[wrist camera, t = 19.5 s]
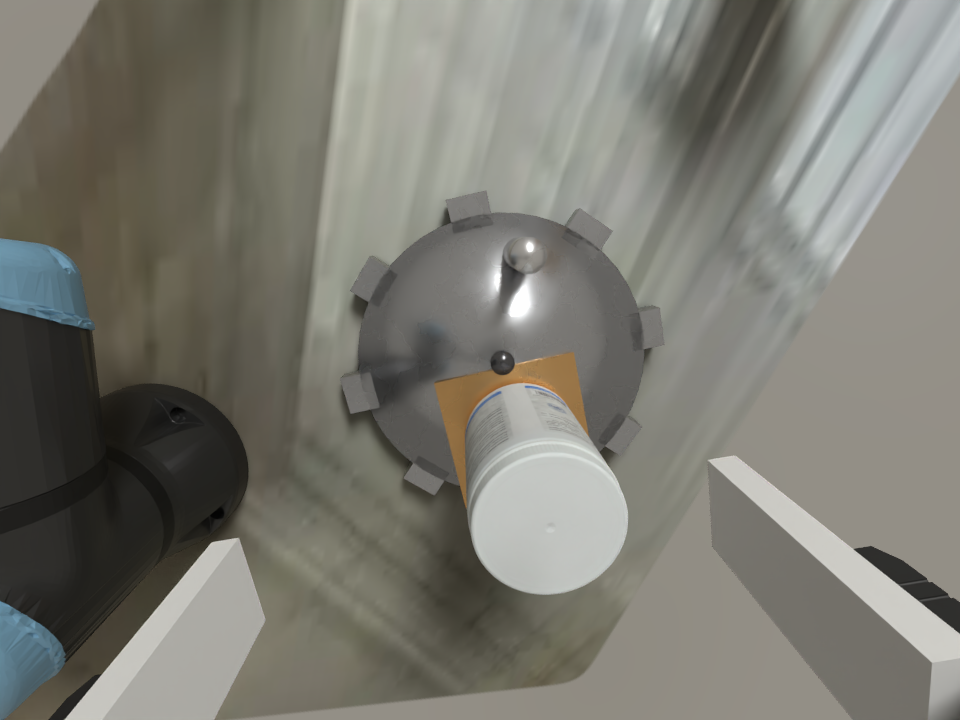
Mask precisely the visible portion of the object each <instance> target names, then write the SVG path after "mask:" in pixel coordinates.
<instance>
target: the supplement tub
mask: <svg viewBox="0 0 960 720" xmlns="http://www.w3.org/2000/svg"><path fill="white" fill-rule="evenodd" d="M465 466H466V498H467V517H468V525H469V530H470V534H471V538H472V543H473V546H474V549H475V552H476V554H477V556H478V558H479V560H480V561H481V563H482V564H483V566H484V567H485V568H486V569H487V571H488V572H489V573H490V574H491V575H493V576H494V577H495V578H496V579H498V580H499V581H500V582H502V583H503V584H505V585H507V586H509V587H511V588H513V589H516V590H519V591H521V592H526V593H530V594H539V595H552V594H560V593H564V592H569V591H572V590H575V589H577V588H580V587H582V586H584V585H586V584H588V583H590V582H591V581H593V580H594V579H596V578H597V577H599V576H600V575H601V574H602V573H603V572H604V571H605V570H606V569H608V567H609V566H610V565H611V564H612V563H613V562H614V560H615V559H616V557H617V556H618V554H619V552H620V550H621V548H622V546H623V544H624V541H625V538H626V533H627V528H628V511H627V505H626V502H625V499H624V496H623V493H622V491H621V489H620V486H619V484H618V481H617V479H616V477H615V476H614V474H613V472H612V471H611V469H610V468H609V466H608V465H607V463H606V462H605V460H604V459H603V457H602V456H601V454H600V453H599V451H598V450H597V448H596V447H595V445H594V444H593V442H592V441H591V439H590V438H589V437H588V435H587V434H586V432H585V431H584V429H583V428H582V426H581V425H580V423H579V422H578V420H577V419H576V418H575V416H574V415H573V413H572V412H571V410H570V409H569V407H568V406H567V405H566V403H565V402H564V401H563V400H562V399H561V398H560V397H559V396H558V395H557V394H555V393H554V392H552V391H551V390H549V389H547V388H545V387H542V386H539V385H535V384H529V383H516V384H510V385H506V386H503V387H501V388H498V389H496V390H495V391H493V392H491V393H490V394H488V395H487V396H486V397H485V398H483V399H482V400H481V401H480V402H479V403H478V404H477V406H476V407H475V408H474V410H473V411H472V413H471V415H470V417H469V420H468V423H467V426H466V431H465Z"/></svg>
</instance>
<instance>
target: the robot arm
mask: <svg viewBox="0 0 960 720" xmlns="http://www.w3.org/2000/svg"><path fill="white" fill-rule="evenodd" d="M92 330H95V325H94V322H93V321H92V320H90V319H89V314H88V310H87V305H86V300H85V294H84V289H83V284H82V278H81V274H80V271H79V269H78V267H77V266H76V265H75V263H74V262H73V261H72V260H71V259H70V258H69V257H68V256H67V255H65V254H64V253H62V252H61V251H59V250H58V249H55V248H53V247H50V246H48V245H44V244H39V243H32V242H24V241H16V240H8V239H0V720H4V719H5V718H6V717H7V716H9V715H10V714H11V713H12V712H13V711H14V710H15V709H16V708H17V707H18V706H20V705H21V704H22V703H23V702H24V701H25V700H26V699H27V698H28V697H29V696H30V695H31V694H32V693H33V692H34V691H35V690H36V689H37V688H38V687H39V686H40V685H42V684H43V683H44V682H47V681H48V680H49V679H51V678H52V677H54V676H56V675H57V674H58V672H59V671H60V670H61V669H62V668H63V666H64V664H65V663H66V662H67V661H68V660H69V658H70V657H71V656H72V655H73V654H74V653H75V652H76V651H77V650H78V649H79V648H80V647H81V645H82V644H83V643H84V642H85V641H86V640H87V639H88V638H89V637H90V636H91V635H92V634H93V633H94V631H95V630H96V629H97V628H98V627H99V626H100V625H101V624H102V623H103V622H104V621H105V620H106V618H107V617H108V616H109V615H110V614H111V613H112V612H113V611H114V610H115V609H116V608H117V607H118V605H119V604H120V603H121V602H122V601H123V600H124V599H125V598H126V597H127V596H128V595H129V594H130V593H131V591H132V590H133V589H134V588H135V587H136V586H137V585H138V584H139V583H140V582H141V581H142V580H143V578H144V577H145V576H146V575H147V574H148V573H149V572H150V571H151V570H152V569H153V568H154V567H155V565H156V564H157V563H158V562H159V561H161V560H163V559H165V558H167V557H169V556H171V555H173V554H175V553H177V552H179V551H181V550H183V549H185V548H187V547H189V546H191V545H193V544H195V543H197V542H199V541H201V540H203V539H205V538H206V537H208V536H209V535H211V534H212V533H213V532H215V531H216V530H217V529H218V528H219V527H220V526H221V525H222V524H223V523H224V522H225V521H226V520H227V518H228V517H229V516H230V515H231V514H232V513H233V511H234V510H235V509H236V507H237V506H238V505H239V503H240V501H241V499H242V497H243V495H244V492H245V489H246V485H247V479H248V462H247V456H246V452H245V449H244V446H243V443H242V441H241V439H240V437H239V435H238V433H237V431H236V430H235V428H234V427H233V425H232V424H231V423H230V421H229V420H228V419H227V418H226V417H225V416H224V415H223V414H222V413H221V412H220V411H219V410H218V409H217V408H216V407H214V406H213V405H212V404H211V403H209V402H208V401H206V400H205V399H203V398H201V397H199V396H198V395H196V394H194V393H191V392H189V391H186V390H184V389H181V388H178V387H174V386H169V385H162V384H139V385H133V386H129V387H125V388H122V389H120V390H117V391H115V392H113V393H110V394H108V395H106V396H104V397H101V398H100V396H99V387H98V378H97V370H96V361H95V352H94V343H93V335H92ZM708 478H709V495H710V513H711V533H712V547H713V548H714V549H715V550H716V552H717V553H718V554H719V556H720V557H721V558H722V559H723V560H724V562H725V563H726V564H727V565H728V567H729V568H730V569H731V570H732V572H733V573H734V574H735V575H736V576H737V578H738V579H739V580H740V581H741V583H742V584H743V585H744V586H745V588H746V589H747V590H748V591H749V592H750V594H751V595H752V596H753V597H754V599H755V600H756V601H757V602H758V604H759V605H760V606H761V607H762V609H763V610H764V611H765V612H766V613H767V615H768V616H769V617H770V618H771V620H772V621H773V622H774V623H775V625H776V626H777V627H778V628H779V629H780V631H781V632H782V633H783V634H784V636H785V637H786V638H787V639H788V641H789V642H790V643H791V644H792V645H793V647H794V648H795V649H796V650H797V652H798V653H799V654H800V655H801V656H802V658H803V659H804V660H805V661H806V663H807V664H808V665H809V666H810V668H811V669H812V670H813V671H814V672H815V674H816V675H817V676H818V678H819V679H820V680H821V681H822V682H823V684H824V685H825V686H826V687H827V689H828V690H829V691H830V692H831V694H832V695H833V696H834V697H835V698H836V700H837V701H838V702H839V703H840V705H841V706H842V707H843V708H844V709H845V711H846V712H847V713H848V715H849V716H850V717H851V718H852V719H853V720H960V602H959V601H957V600H956V599H954V598H950V597H949V596H948V593H946V592H945V591H943V590H942V589H941V588H939V587H938V586H937V585H935V584H934V583H933V582H928V580H927V578H926V577H924V576H923V575H922V574H920V573H918V572H917V571H916V570H915V569H913V568H912V567H911V566H909V565H908V564H906V563H905V562H904V561H902V560H900V559H898V558H896V557H894V556H892V555H889V554H887V553H885V552H883V551H881V550H878V549H876V548H874V547H872V546H869V547H863V548H857V549H852V548H851V547H850V546H848V545H847V544H846V543H845V542H843V541H842V540H841V539H840V538H838V537H837V536H836V535H835V534H833V533H832V532H831V531H829V530H828V529H827V528H826V527H824V526H823V525H822V524H820V523H819V522H818V521H817V520H816V519H814V518H813V517H812V516H811V515H809V514H808V513H807V512H805V511H804V510H803V509H802V508H801V507H799V506H798V505H797V504H795V503H794V502H793V501H792V500H791V499H789V498H788V497H787V496H785V495H784V494H783V493H782V492H780V491H779V490H778V489H777V488H775V487H774V486H773V485H772V484H770V483H769V482H768V481H767V480H765V479H764V478H763V477H762V476H760V475H759V474H758V473H757V472H755V471H754V470H753V469H751V468H750V467H749V466H748V465H746V464H745V463H744V462H743V461H741V460H740V459H739V458H738V457H736V456H729V457H723V458H717V459H711V460H708ZM264 622H265V617H264V614H263V611H262V608H261V604H260V601H259V598H258V595H257V592H256V589H255V586H254V583H253V580H252V577H251V574H250V570H249V567H248V564H247V561H246V558H245V555H244V552H243V549H242V546H241V543H240V540H239V538H235V539H228V540H222V541H216V542H212V543H211V544H210V545H209V546H208V547H207V549H206V550H205V551H204V552H203V553H202V555H201V556H200V557H199V558H198V559H197V561H196V562H195V563H194V564H193V565H192V567H191V568H190V569H189V570H188V571H187V573H186V574H185V575H184V576H183V578H182V579H181V580H180V581H179V582H178V584H177V585H176V586H175V587H174V588H173V590H172V591H171V592H170V593H169V594H168V596H167V597H166V598H165V599H164V600H163V602H162V603H161V604H160V605H159V606H158V608H157V609H156V610H155V611H154V612H153V614H152V615H151V616H150V617H149V619H148V620H147V621H146V622H145V623H144V625H143V626H142V627H141V628H140V629H139V631H138V632H137V633H136V634H135V635H134V637H133V638H132V639H131V640H130V641H129V643H128V644H127V645H126V646H125V647H124V649H123V650H122V651H121V652H120V653H119V655H118V656H117V657H116V658H115V660H114V661H113V662H112V663H111V664H110V666H109V667H108V668H107V669H106V670H105V672H104V673H103V674H100V675H95V676H94V677H92V678H91V679H90V680H89V681H88V682H86V683H85V684H84V685H83V686H82V687H80V688H79V689H78V690H77V691H76V692H74V693H73V694H72V695H71V696H69V697H68V698H67V699H66V700H65V701H64V703H63V704H62V705H61V706H60V707H59V708H58V709H57V711H56V712H55V713H54V714H53V715H52V716H51V718H50V719H49V720H214V719H215V717H216V715H217V713H218V711H219V709H220V707H221V705H222V703H223V701H224V699H225V697H226V696H227V694H228V692H229V690H230V688H231V686H232V684H233V682H234V680H235V678H236V676H237V674H238V672H239V670H240V669H241V667H242V665H243V663H244V661H245V659H246V657H247V655H248V653H249V651H250V649H251V647H252V645H253V643H254V642H255V640H256V638H257V636H258V634H259V632H260V630H261V628H262V626H263V624H264Z"/></svg>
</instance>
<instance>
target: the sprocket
mask: <svg viewBox="0 0 960 720" xmlns="http://www.w3.org/2000/svg"><path fill="white" fill-rule="evenodd" d="M446 203H447V207H448V212H449V216H450V220H451V223H449V224H447V225H444V226H442V227H439V228H437V229H436V230H434V231H432V232H430V233H429V234H427V235H425V236H423V237H422V238H420V239H419V240H418V241H417V242H415V243H414V244H413V245H411V246H410V247H409V248H407V249H406V250H405V251H404V252H403V253H402V254H401V255H400V256H399V257H398V258H397V259H396V260H395V261H394V262H393V263H392V265H391V266H389V265H387V264H386V263H384V262H382V261H381V260H379V259H378V258H376V257H374V256H370V257H369V258H368V260H367V262H366V264H365V265H364V267H363V269H362V271H361V272H360V274H359V276H358V278H357V279H356V281H355V283H354V285H353V286H352V288H351V290H350V291H351V292H353V293H354V294H356V295H358V296H359V297H361V298H362V299H364V300H366V301H367V302H369V303H368V306H367V308H366V311H365V313H364V317H363V322H362V326H361V330H360V337H359V348H358V358H359V371H355V372H350V373H346V374H344V375H343V376H342V377H341V378H340V381H341V384H342V387H343V391H344V394H345V397H346V400H347V404H348V407H349V410H350V414H352V413H357V412H361V411H366V410H371V412H372V414H373V416H374V419H375V420H376V422H377V424H378V425H379V427H380V428H381V430H382V431H383V433H384V434H385V436H386V437H387V438H388V439H389V440H390V442H391V443H392V444H393V445H394V446H395V448H396V449H397V450H399V451H400V452H401V453H402V454H403V455H404V456H405V457H406V458H407V459H408V460H410V461H411V463H410V464H409V466H408V467H407V469H406V471H405V475H404V479H405V480H407V481H409V482H411V483H413V484H414V485H416V486H418V487H420V488H422V489H423V490H425V491H427V492H429V493H431V494H432V495H435V494H436V492H437V491H438V490H439V488H440V487H441V485H442V484H443V482H444V481H447V482H449V483H452V484H455V485H458V486H460V487H461V491H462V495H463V499H464V503H465V507H466V508H467V498H466V466H465V431H466V426H467V423H468V420H469V417H470V415H471V413H472V411H473V410H474V408H475V407H476V406H477V404H478V403H479V402H480V401H481V400H482V399H483V398H485V397H486V396H487V395H488V394H490V393H491V392H493V391H495V390H496V389H498V388H501V387H503V386H506V385H510V384H516V383H529V384H535V385H539V386H542V387H545V388H547V389H549V390H551V391H552V392H554V393H555V394H557V395H558V396H559V397H560V398H561V399H562V400H563V401H564V402H565V403H566V405H567V406H568V407H569V409H570V410H571V412H572V413H573V415H574V416H575V418H576V419H577V420H578V422H579V423H580V425H581V426H582V428H583V429H584V431H585V432H586V434H587V435H588V437H589V438H590V439H591V441H592V442H593V444H594V445H595V447H596V448H597V450H598V451H599V452H600V451H601V450H602V449H603V448H604V447H607V448H609V449H610V450H612V451H614V452H615V453H617V454H619V455H620V456H621V455H622V453H623V452H624V451H625V449H626V448H627V447H628V445H629V444H630V443H631V441H632V440H633V439H634V437H635V436H636V435H637V433H638V432H639V431H640V429H641V428H642V426H641V425H640V424H639V423H638V422H637V421H636V420H635V419H633V418H631V417H630V416H628V413H629V411H630V410H631V408H632V405H633V403H634V400H635V398H636V395H637V392H638V389H639V385H640V381H641V377H642V373H643V363H644V349H648V348H652V347H657V346H661V345H664V337H663V330H662V322H661V315H660V308H659V307H656V306H653V305H651V306H647V307H642V308H637V305H636V301H635V299H634V297H633V295H632V293H631V291H630V288H629V286H628V284H627V283H626V281H625V280H624V278H623V276H622V275H621V273H620V272H619V270H618V269H617V268H616V266H615V265H614V264H613V263H612V262H611V261H610V259H609V258H608V257H607V256H606V255H605V254H604V253H603V252H602V251H601V250H600V249H601V248H602V246H603V245H604V244H605V242H606V241H607V239H608V238H609V236H610V235H611V233H612V232H613V231H612V230H611V229H609V228H608V227H606V226H605V225H603V224H602V223H600V222H599V221H598V220H596V219H595V218H593V217H592V216H590V215H589V214H587V213H586V212H585V211H583V210H582V209H576V210H575V211H574V213H573V214H572V216H571V217H570V219H569V220H568V222H567V224H566V225H565V226H563V225H561V224H558V223H556V222H553V221H550V220H547V219H544V218H540V217H537V216H531V215H525V214H519V213H491V211H490V206H489V202H488V197H487V192H486V191H483V192H478V193H474V194H470V195H465V196H461V197H457V198H452V199H448V200H446Z"/></svg>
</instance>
